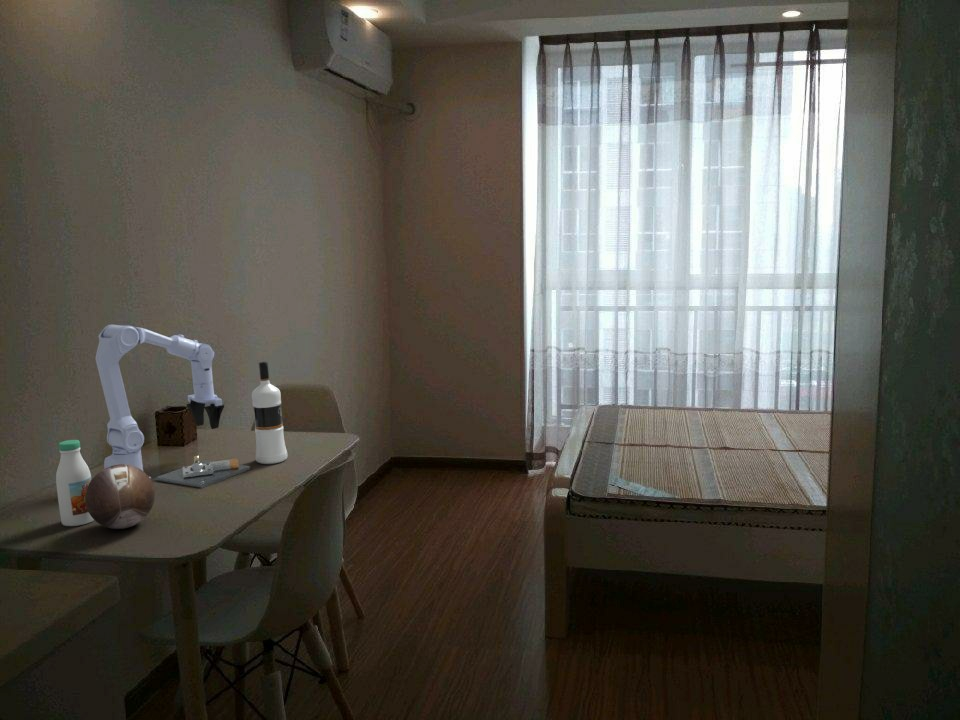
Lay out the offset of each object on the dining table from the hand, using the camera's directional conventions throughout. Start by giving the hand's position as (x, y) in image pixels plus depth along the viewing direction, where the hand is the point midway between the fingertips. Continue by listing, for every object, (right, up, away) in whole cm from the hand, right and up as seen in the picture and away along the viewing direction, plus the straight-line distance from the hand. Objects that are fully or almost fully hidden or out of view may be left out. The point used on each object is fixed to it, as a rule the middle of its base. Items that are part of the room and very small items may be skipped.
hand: (207, 426), depth 248 cm
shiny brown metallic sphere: (-2, -20, -54) cm, 57 cm away
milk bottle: (-15, -19, -49) cm, 55 cm away
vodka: (+20, -10, -3) cm, 23 cm away
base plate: (+4, -12, -15) cm, 20 cm away
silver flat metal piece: (+6, -11, -15) cm, 20 cm away
